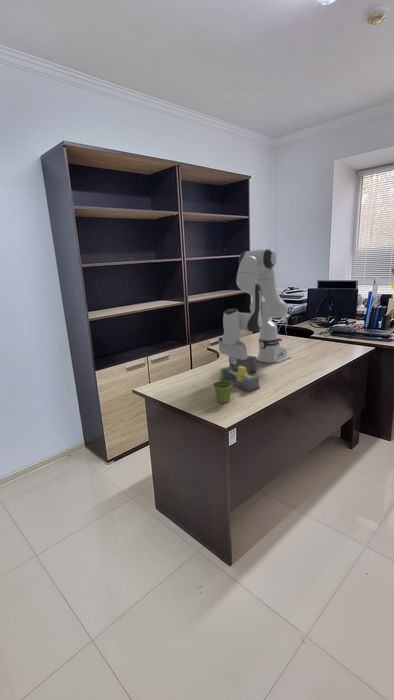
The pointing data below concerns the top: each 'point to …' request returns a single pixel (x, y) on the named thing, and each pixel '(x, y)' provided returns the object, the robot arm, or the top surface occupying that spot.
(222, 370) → the grey rectangular frame
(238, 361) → the digital clock
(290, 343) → the top surface
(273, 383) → the top surface
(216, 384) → the plant pot
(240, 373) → the yellow stepped block
